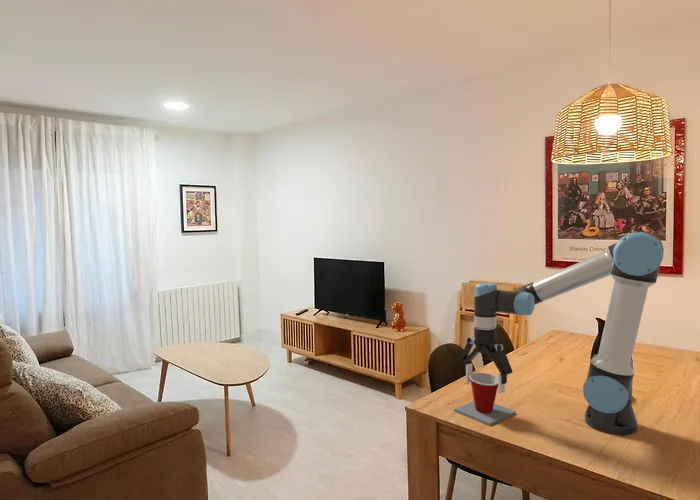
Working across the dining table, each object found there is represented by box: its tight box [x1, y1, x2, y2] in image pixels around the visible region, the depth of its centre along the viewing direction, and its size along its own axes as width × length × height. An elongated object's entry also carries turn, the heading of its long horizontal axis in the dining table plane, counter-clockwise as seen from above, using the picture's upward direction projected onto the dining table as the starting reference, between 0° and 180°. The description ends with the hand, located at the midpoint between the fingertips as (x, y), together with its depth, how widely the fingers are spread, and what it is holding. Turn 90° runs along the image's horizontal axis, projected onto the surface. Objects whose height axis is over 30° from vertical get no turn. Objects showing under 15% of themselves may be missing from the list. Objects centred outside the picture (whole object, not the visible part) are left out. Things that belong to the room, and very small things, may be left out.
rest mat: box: [453, 400, 517, 426], centre depth 164 cm, size 15×15×1 cm
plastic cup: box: [469, 371, 498, 413], centre depth 163 cm, size 11×11×12 cm
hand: (484, 386), depth 163 cm, fingers open, 13 cm apart
